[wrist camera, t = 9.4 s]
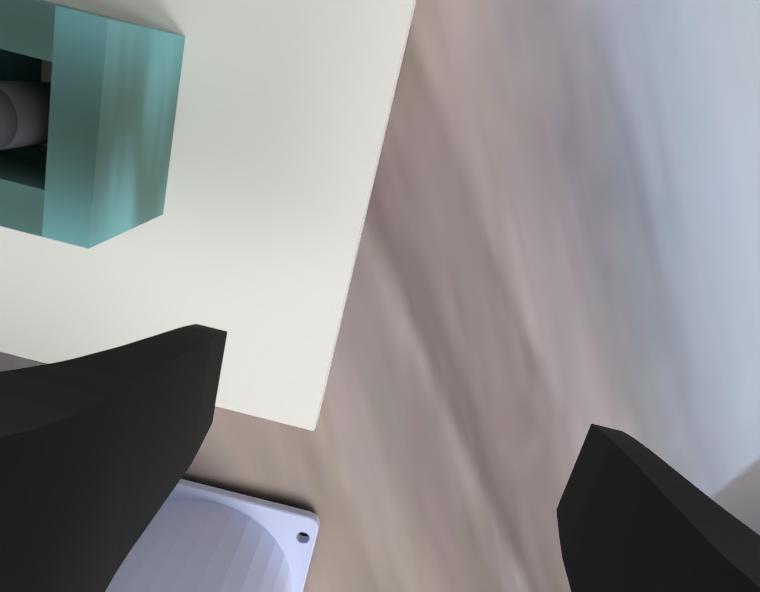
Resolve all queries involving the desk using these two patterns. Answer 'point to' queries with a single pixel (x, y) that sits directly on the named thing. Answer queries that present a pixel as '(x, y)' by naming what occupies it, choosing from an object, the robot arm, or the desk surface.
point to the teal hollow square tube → (89, 122)
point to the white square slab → (227, 198)
